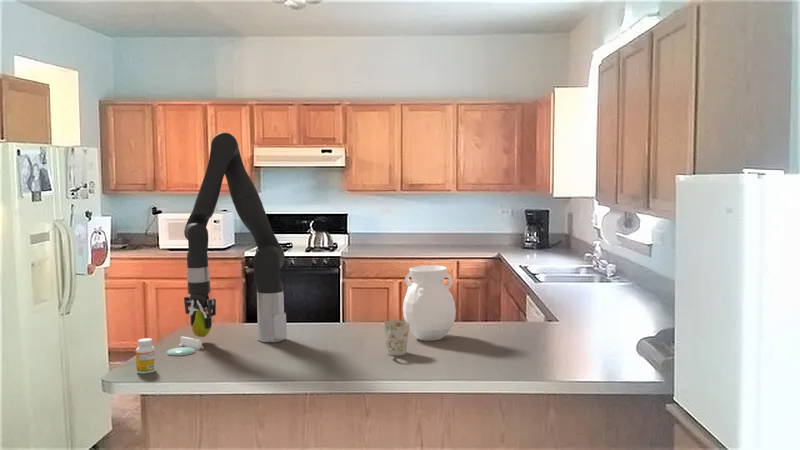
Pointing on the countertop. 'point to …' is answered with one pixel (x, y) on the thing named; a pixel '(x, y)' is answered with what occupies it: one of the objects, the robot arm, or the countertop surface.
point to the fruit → (200, 325)
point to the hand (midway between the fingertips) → (201, 327)
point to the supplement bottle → (145, 356)
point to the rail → (191, 343)
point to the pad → (181, 351)
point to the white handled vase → (429, 302)
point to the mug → (396, 337)
